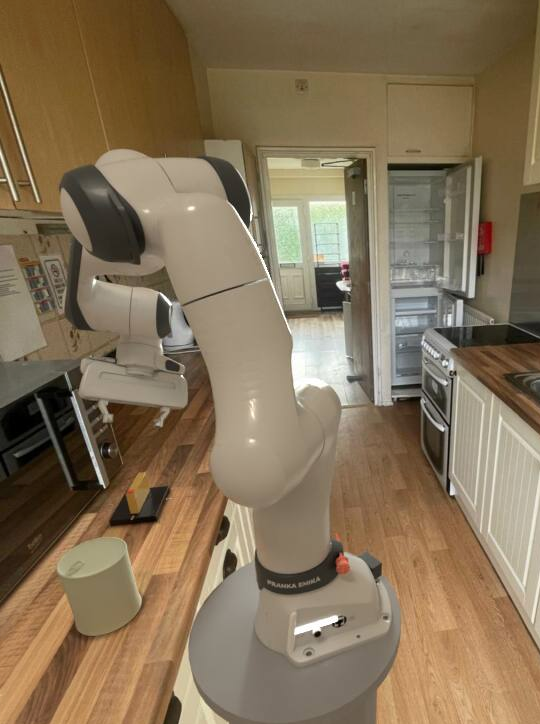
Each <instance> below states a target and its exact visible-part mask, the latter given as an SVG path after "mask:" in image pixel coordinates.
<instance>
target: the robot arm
mask: <svg viewBox="0 0 540 724" xmlns="http://www.w3.org/2000/svg"><path fill="white" fill-rule="evenodd" d="M58 191H59V199H60V208H61V213H62V216H63V219H64V222H65V224H66V226H67V228H68V229H69V231H70V232H71V234H72V238H71V241H70V247H69V248H70V249H69V253H68V254H69V255H68V264H67V273H66V274H67V275H66V278H67V279H66V286H65V288H64V289H63V293H62V297H61V298H62V299H61V308H62V309H61V310H62V313H63V315H64V318H65V319H66V321H68V322H69V324H71V325H72V326H73V327H74V328H76V329H77V330H78V331H86V332H103V333H110V334H111V333H112V334H119V340H118V341H117V344H116V352H115V353H116V354H115V357H109V356H100V355H97V354H90V355H87V356H85V357H83V358H81V359H80V363H79V371H80V373H81V374H82V376H81V379H80V383H79V387H78V396H79V397H80V398H81V399H82V400H86V401H93V402H94V401H95V402H98V405H97V407H98V409H99V410H100V413H101V414H102V415H103V417H102V423H103V424H109V425H110V424H113V422H114V413H110V412H109V411H108V409H107V406H108V405H109V403H115V404H122V405H129V406H130V405H132V406H139V407H149V408H157V409H159V410H160V411H159V412H160V413H161V415H160V416H159V418H154V419H153V428H159V429H162V428H163V427H164V420H165V419H166V418H167V416H168V415H169V413H170V411H171V410H175V411H177V410H178V411H181V410H183V409H185V408H186V407H187V405H188V402H189V391H188V390H189V389H188V382H187V380H186V378H185V377H184V376H183V375H184V373H185V371H186V367H185V366H184V365H183V364H182V363H180V362H177V361H176V360H174V359H171V358H169V357H167V356H165V355H164V348H163V339H164V338H166V337H167V336H168V335H170V334H171V333H172V328H171V323H172V317H173V311H174V307H173V304H172V303H171V302H170V300H169V299H168V298H167V297H166V296H165V295H164V293H162V292H159V291H157V290H154V289H152V288H149V287H145V286H130V285H123V284H120V283H119V284H118V283H114V282H113V283H112V282H108V281H102V280H98V279H96V277H97V276H105V275H115V276H129V277H131V276H132V277H143V276H148V275H151V274H155V273H156V272H159V271H160V270H161V269H163V268H164V267H165V270H166V272H167V275H168V278H169V281H170V283H171V286H172V289H173V291H174V294H175V296H176V298H177V300H178V303H179V306H180V307H181V310H182V312H183V314H184V316H185V318H186V320H187V323H188V325H189V328H190V330H191V332H192V335H193V337H194V340H195V342H196V344H197V347H198V349H199V351H200V353H201V355H202V358H203V361H204V363H205V366H206V369H207V373H208V376H209V380H210V381H209V382H210V385H211V390H212V400H213V406H214V418H215V419H214V420H215V429H214V431H215V432H214V439H213V444H212V448H211V451H210V455H209V458H208V459H209V460H208V466H209V467H208V468H209V472H210V476H211V478H212V481H213V483H214V485H215V486H216V488H217V490H219V492H220V493H221V494H222V495H223V496H224V497H225V498H227V499H228V500H230V501H231V502H232V503H234V504H236V505H239V506H241V507H244V508H248V509H252V514H251V515H252V524H253V533H254V540H255V550H254V558H253V561H254V567H255V575H256V582H257V583H258V588H259V602H258V609H257V613H256V616H255V622H254V626H255V632H256V634H257V637H258V638H259V640H260V641H261V642H262V643H263V644H264V645H265V646H266V647H267V648H269V649H271V650H273V651H275V652H277V653H280V654H282V655H284V656H286V657H287V659H288V660H289V661H290V662H291V663H292V664H293V665H294V666H296V667H299V668H302V667H306V666H308V665H311V664H314V663H316V662H319V661H322V660H324V659H327V658H330V657H333V656H335V655H338V654H341V653H343V652H346V651H349V650H351V649H354V648H357V647H360V646H362V645H365V644H368V643H370V642H373V641H376V640H378V639H381V638H384V637H386V636H387V635H388V634H389V632H390V629H391V625H392V609H391V603H390V599H389V596H388V593H387V591H386V588H385V586H384V585H383V583H382V581H381V580H380V579H379V578H378V577H380V576H381V575H382V574H383V573H382V572H383V563H382V561H380V560H378V558H376V557H375V556H373V555H372V554H371V553H370V552H368V550H365V551H364V552H362V553H361V554H359V555H357V556H358V557H355V556H356V555H355V556H352V555H349V554H346V553H344V552H345V551H344V545H343V543H342V542H341V541H340V536H339V534H338V533H337V532H335V538H334V537H332V536H331V519H330V518H331V517H330V513H331V512H330V508H331V507H330V505H331V504H330V503H331V500H330V499H331V491H332V485H333V479H334V471H335V463H336V453H337V442H338V433H339V427H340V423H341V419H342V413H343V412H342V411H343V409H342V408H343V407H342V402H341V399H340V397H339V395H338V394H337V391H335V389H334V388H333V387H332V386H331V385H330V384H328V383H326V382H324V381H323V380H320V379H318V378H309V377H308V378H302V379H298V380H294V377H293V375H294V374H293V365H292V356H293V350H294V349H293V348H294V339H293V335H292V331H291V329H290V327H289V323H288V322H287V318H286V316H285V313H284V310H283V308H282V305H281V303H280V300H279V298H278V294H277V292H276V290H275V287H274V284H273V282H272V279H271V277H270V274H269V272H268V270H267V269H268V268H267V267H266V264H265V262H264V260H263V258H262V255H261V254H260V251H259V248H258V247H257V244H256V242H255V241H254V239H253V237H252V235H251V233H250V232H249V228H250V225H251V221H252V217H253V216H252V215H253V206H252V200H251V199H252V198H251V195H250V191H249V189H248V186H247V184H246V181H245V179H244V178H243V176H242V175H241V173H240V172H239V170H238V169H237V168H236V167H235V166H234V165H233V164H232V163H231V162H229V161H228V160H227V159H224V158H220V157H216V156H209V155H198V156H196V157H178V156H177V157H176V156H175V157H174V156H172V157H151V156H149V155H146V154H145V153H142V152H140V151H139V150H138V151H137V150H135V149H129V148H117V149H112V150H109V151H107V152H104V153H103V154H102V155H101V156H100V157H99V158H98V159H97V160H96V162H95V164H92V163H89V164H85V165H82V166H78V167H76V168H73V169H71V170H68V171H66V172H65V173H63V175H62V177H61V179H60V182H59V185H58ZM376 583H377V584H376ZM384 619H387V620H384ZM307 655H311V656H307Z"/></svg>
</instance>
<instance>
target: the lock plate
mask: <svg viewBox="0 0 540 724" xmlns="http://www.w3.org/2000/svg"><path fill="white" fill-rule="evenodd" d="M149 488H150V492H149V494H148V496H147V498H146V500H145V502H144V504H143V506H142V508H141V510H140V512H139V513H136V514H131V513H130V509H129V505H128V501H127V497H126V493H127V491H128V490H129V489H126V491H125V493H124V494H123V496H122V498H121V499H120V501H119V502H118V504H117V506H116V508H115V510H114V511H113V513H112V515H111V516H110V518H109V520H108V523H109V525H110V527H119V526H127V525H136V524H144V523H145V524H146V523H155V522H156V523H157V522H159V521H158V520H159V518H160V515H161V513H162V511H163V508H164V506H165V504H166V501H170V500H174V497H169V494H170V491H171V489H170V486H169V485H163V486H162V485H161V486H153V487H152V486H151V487H150V485H149ZM115 505H116V503H107V507H109V506H110V507H111V506H115Z"/></svg>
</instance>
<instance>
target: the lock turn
mask: <svg viewBox="0 0 540 724" xmlns="http://www.w3.org/2000/svg"><path fill="white" fill-rule="evenodd" d="M149 486H150V485H149V479H148V476H147V472H146V471H142V472H137V474H136V476H135V478H134V479H133V481H132V482H131V484H130V486H129V488H128V489H127V490H128V491H127V490H126V491H127V493H126V492H125V493H126V497H127V501H128V505H129V509H130V513H131V514H136V513H139V512H140V510H141V508H142V506H143V504H144V502H145V500H146V498H147V496H148V494H149V492H150V488H151V487H149Z"/></svg>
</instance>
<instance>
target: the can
mask: <svg viewBox="0 0 540 724" xmlns="http://www.w3.org/2000/svg"><path fill="white" fill-rule="evenodd" d="M55 571H56V574H57V575H58V578H59V580H60V582H61V585H62V588H63V590H64V593H65V595H66V599H67V602H68V604H69V607H70V610H71V612H72V615H73V619H74V625H75V628H76V630H77V631H78V632H79V633H80V634H82V635H84V636H88V637H98V636H103V635H107V634H110V633H113V632H115V631H118V630H119V629H121V628H123V627H125V626H126V625H127V624H128V623H130V622H131V621H132V620H133V619H134V618H135V617H136V615H137V614H138V613H139V611H140V610H141V607H142V603H143V599H142V597H141V594H140V592H139V589H138V586H137V582H136V578H135V575H134V571H133V568H132V563H131V559H130V555H129V551H128V544H127V543H126V541H125V540H124V539H122V538H120V537H116V536H102V537H98V538H93V539H89V540H87V541H84V542H81V543H79V544H77V545H75V546H74V547H72V548H71V549H69V550H68V551H66V552H65V553H64V554H63V555H62V556H61V557H60V558H59V560H58V561H57V563H56V566H55Z"/></svg>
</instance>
